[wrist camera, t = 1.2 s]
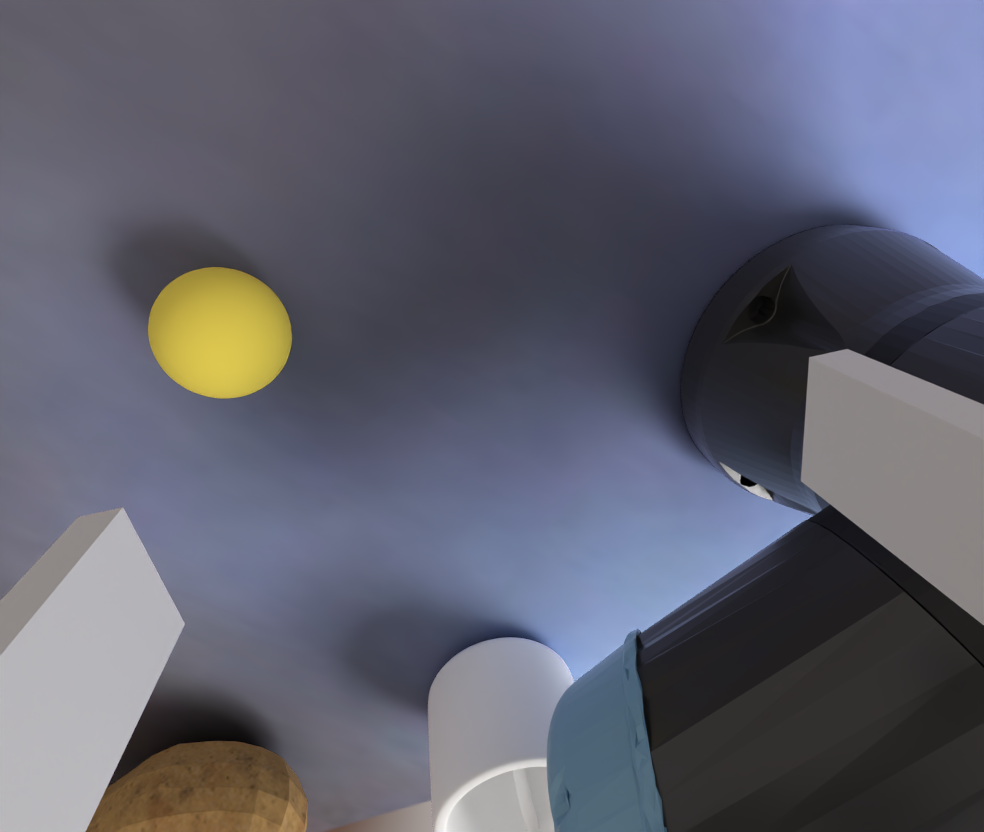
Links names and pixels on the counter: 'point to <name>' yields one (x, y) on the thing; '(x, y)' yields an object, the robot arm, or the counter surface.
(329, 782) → the counter surface
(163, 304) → the ball
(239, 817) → the potato
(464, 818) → the mug
